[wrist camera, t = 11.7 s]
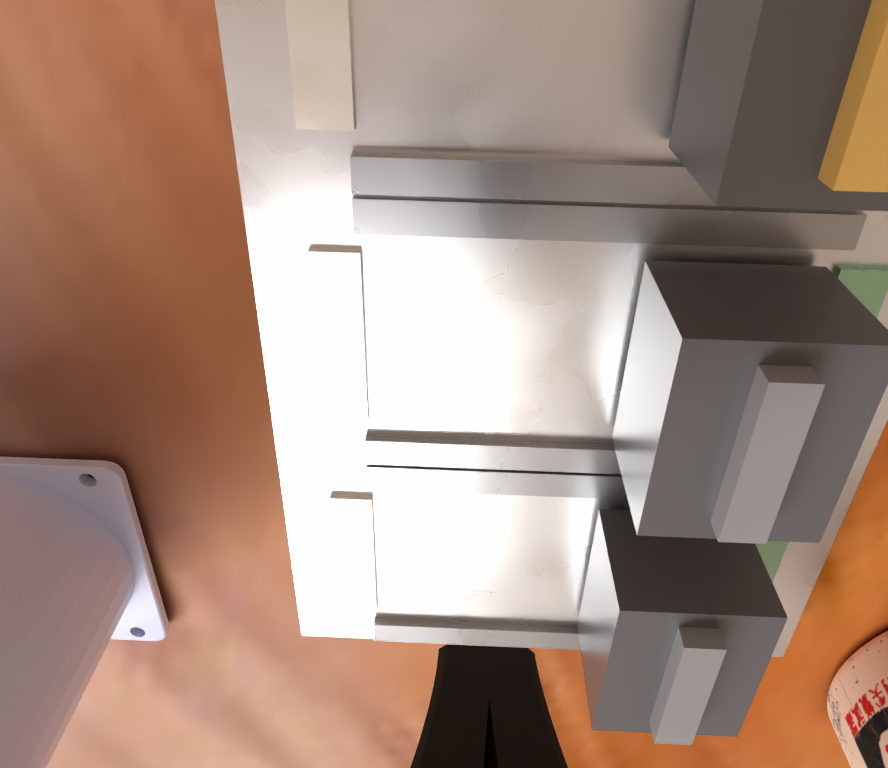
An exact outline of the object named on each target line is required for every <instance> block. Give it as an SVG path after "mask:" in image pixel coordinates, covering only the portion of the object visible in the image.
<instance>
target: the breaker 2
mask: <svg viewBox="0 0 888 768" xmlns="http://www.w3.org/2000/svg"><path fill="white" fill-rule="evenodd" d="M787 619H788V617H787V615H786V612H785V610H784V608H783V606H782V603H781V601H780V599H779V596H778V594H777V592H776V590H775V587H774V585H773V583H772V581H771V578H770V576H769V574H768V571H767V569H766V567H765V565H764V562H763V560H762V558H761V555H760V553H759V551H758V549H757V546H756V544H755V543H731V542H718V540H717V539H710V538H686V537H661V536H637V534H636V530H635V526H634V522H633V518H632V514H631V511H628V510H604V509H599V511H598V517H597V522H596V527H595V533H594V538H593V544H592V549H591V554H590V560H589V565H588V570H587V576H586V581H585V587H584V592H583V597H582V603H581V608H580V613H579V619H578V624H577V628H578V635H579V642H580V649H581V656H582V663H583V670H584V677H585V684H586V691H587V698H588V706H589V713H590V720H591V727H592V730H603V731H624V732H646V733H652V737H653V741H654V743H660V744H682V745H692V743H693V740H694V737H695V735H711V736H733V737H737V736H738V733H739V731H740V729H741V726H742V724H743V722H744V719H745V717H746V715H747V712H748V710H749V708H750V705H751V703H752V701H753V698H754V696H755V694H756V691H757V689H758V687H759V684H760V682H761V680H762V677H763V675H764V673H765V670H766V668H767V666H768V663H769V661H770V658H771V656H772V654H773V651H774V649H775V647H776V644H777V642H778V640H779V637H780V635H781V633H782V630H783V628H784V626H785V623H786V621H787Z"/></svg>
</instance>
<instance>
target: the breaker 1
mask: <svg viewBox="0 0 888 768" xmlns="http://www.w3.org/2000/svg"><path fill="white" fill-rule="evenodd" d="M887 385H888V330H887V328H886V327H885V326H884V325H883V324H882V323H881V322H880V321H879V320H878V319H877V318H876V317H875V316H874V315H873V314H872V313H871V312H870V311H869V310H868V309H867V308H866V307H865V306H864V305H863V304H862V303H861V302H860V301H859V300H858V299H857V298H856V297H855V296H854V295H853V294H852V293H851V292H850V291H849V290H848V288H847V287H846V286H845V285H844V284H843V283H842V282H841V281H840V280H839V279H838V278H837V277H836V276H835V275H834V274H833V273H832V272H831V271H830V270H829V269H828V268H827V267H823V266H793V265H763V264H733V263H703V262H673V261H645V264H644V269H643V275H642V280H641V285H640V291H639V296H638V301H637V307H636V312H635V318H634V323H633V328H632V334H631V339H630V345H629V350H628V355H627V361H626V366H625V371H624V377H623V382H622V388H621V393H620V398H619V404H618V409H617V414H616V420H615V425H614V431H613V436H612V440H613V444H614V448H615V452H616V456H617V460H618V464H619V468H620V471H621V475H622V479H623V483H624V487H625V491H626V495H627V499H628V503H629V507H630V511H631V514H632V518H633V522H634V526H635V530H636V534H637V536H661V537H686V538H710V539H717V540H718V542H731V543H755V544H766V543H767V541H784V542H808V543H820V542H821V539H822V537H823V535H824V532H825V530H826V527H827V525H828V523H829V520H830V518H831V516H832V513H833V511H834V509H835V506H836V504H837V502H838V499H839V497H840V495H841V492H842V490H843V488H844V485H845V483H846V481H847V478H848V476H849V474H850V471H851V469H852V467H853V464H854V462H855V460H856V457H857V455H858V453H859V450H860V448H861V446H862V443H863V441H864V439H865V436H866V434H867V432H868V429H869V427H870V425H871V422H872V420H873V418H874V415H875V413H876V411H877V408H878V406H879V404H880V401H881V399H882V396H883V394H884V392H885V389H886V387H887Z"/></svg>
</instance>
